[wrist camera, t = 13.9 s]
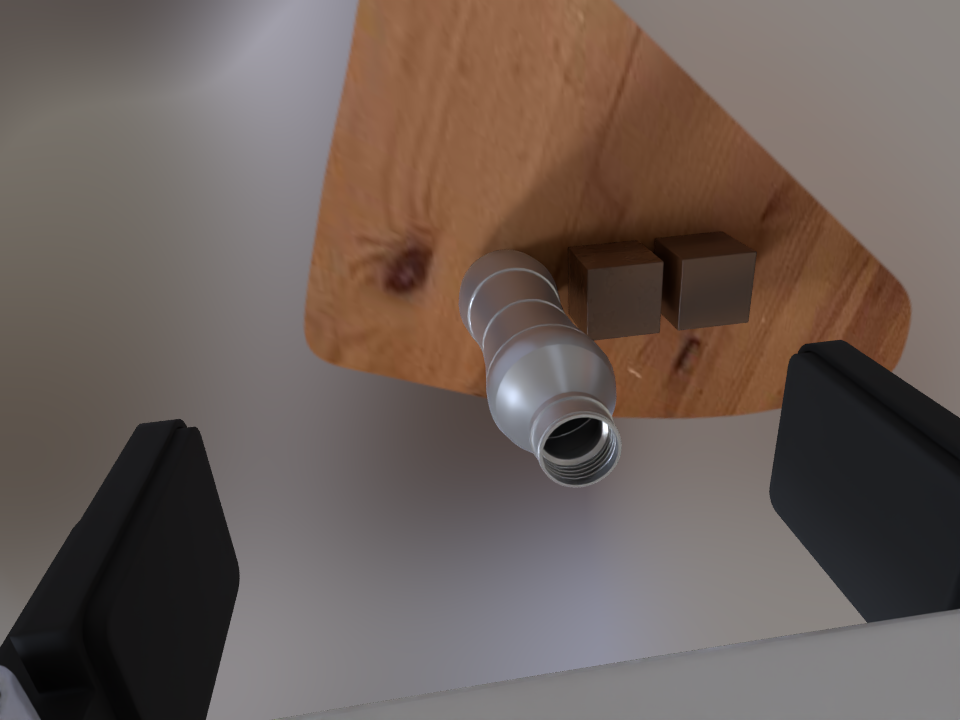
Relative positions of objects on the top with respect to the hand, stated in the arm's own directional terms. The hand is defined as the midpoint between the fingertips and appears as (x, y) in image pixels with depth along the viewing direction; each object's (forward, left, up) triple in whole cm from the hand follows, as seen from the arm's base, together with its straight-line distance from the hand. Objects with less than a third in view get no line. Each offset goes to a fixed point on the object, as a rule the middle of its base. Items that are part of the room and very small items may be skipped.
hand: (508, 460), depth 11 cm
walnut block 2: (+10, +18, -34) cm, 40 cm away
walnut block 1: (+10, +12, -34) cm, 38 cm away
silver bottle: (+10, +5, -34) cm, 36 cm away
